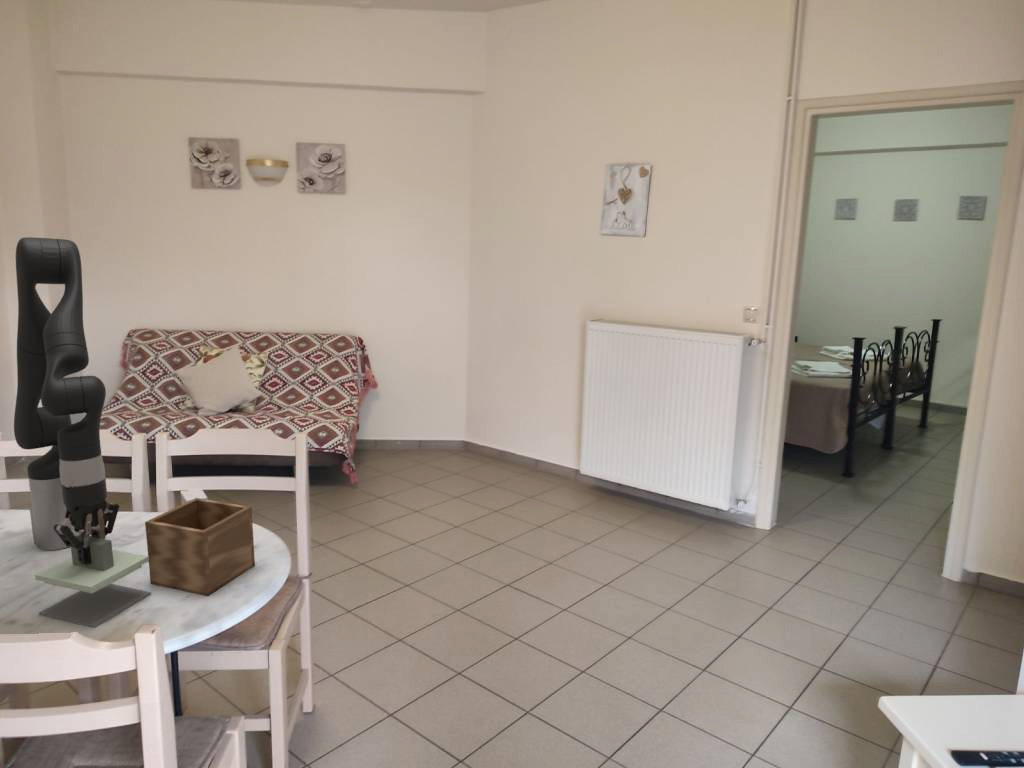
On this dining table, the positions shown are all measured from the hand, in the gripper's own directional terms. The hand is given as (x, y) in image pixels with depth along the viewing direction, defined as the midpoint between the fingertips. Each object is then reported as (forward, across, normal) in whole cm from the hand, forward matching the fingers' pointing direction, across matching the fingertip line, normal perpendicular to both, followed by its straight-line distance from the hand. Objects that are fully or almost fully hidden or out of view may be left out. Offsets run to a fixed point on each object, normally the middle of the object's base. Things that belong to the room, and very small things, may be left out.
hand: (92, 560), depth 148 cm
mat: (+9, 0, 0) cm, 9 cm away
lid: (+3, 0, 0) cm, 3 cm away
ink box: (+10, -32, -3) cm, 34 cm away
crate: (+9, -18, +11) cm, 23 cm away
